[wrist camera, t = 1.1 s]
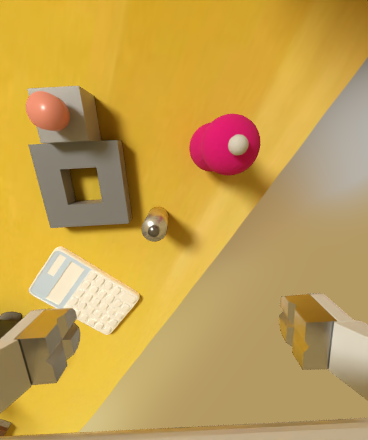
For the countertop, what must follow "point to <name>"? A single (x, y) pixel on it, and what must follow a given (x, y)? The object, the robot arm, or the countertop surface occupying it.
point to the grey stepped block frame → (80, 166)
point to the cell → (155, 224)
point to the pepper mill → (225, 145)
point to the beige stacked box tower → (4, 427)
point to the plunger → (47, 111)
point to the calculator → (83, 290)
